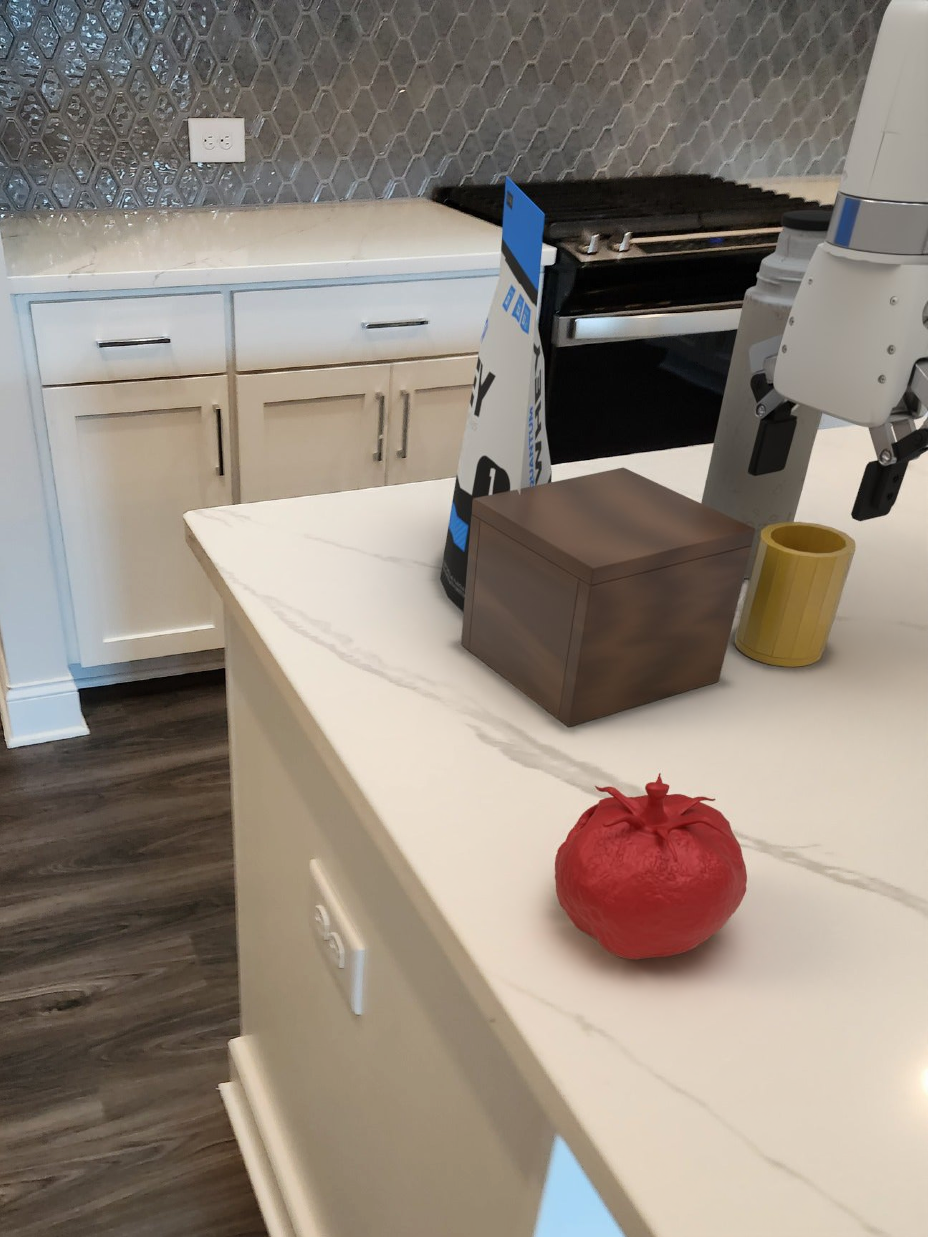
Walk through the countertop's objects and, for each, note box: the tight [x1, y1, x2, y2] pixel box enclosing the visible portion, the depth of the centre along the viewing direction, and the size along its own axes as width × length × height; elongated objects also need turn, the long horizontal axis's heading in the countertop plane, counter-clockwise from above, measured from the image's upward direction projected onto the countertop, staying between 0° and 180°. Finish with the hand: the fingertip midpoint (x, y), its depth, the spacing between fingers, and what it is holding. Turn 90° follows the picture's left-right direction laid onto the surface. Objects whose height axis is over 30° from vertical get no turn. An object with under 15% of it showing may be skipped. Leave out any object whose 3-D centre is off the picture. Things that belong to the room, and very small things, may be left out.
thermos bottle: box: [700, 209, 832, 579], centre depth 92 cm, size 8×8×28 cm
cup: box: [734, 521, 857, 668], centre depth 84 cm, size 7×7×9 cm
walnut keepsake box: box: [460, 467, 756, 727], centre depth 82 cm, size 14×14×12 cm
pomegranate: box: [554, 772, 748, 960], centre depth 59 cm, size 10×10×9 cm
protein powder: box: [439, 175, 553, 613], centre depth 89 cm, size 10×24×30 cm, turn 177°
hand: (815, 493), depth 80 cm, fingers open, 9 cm apart
